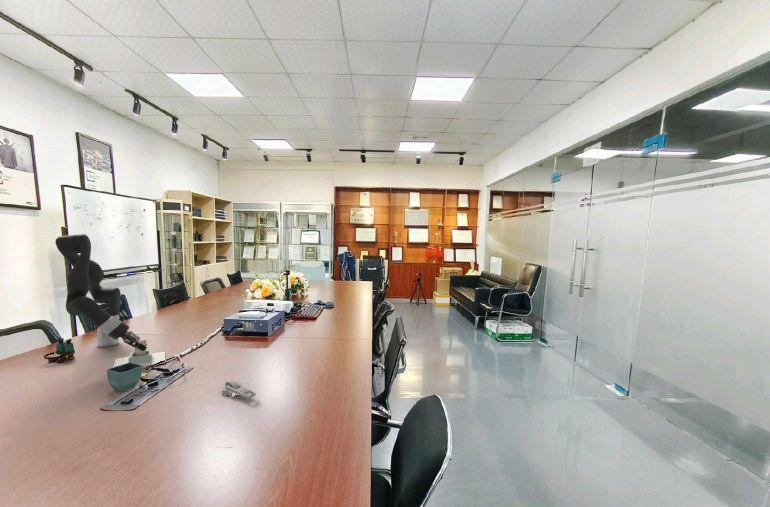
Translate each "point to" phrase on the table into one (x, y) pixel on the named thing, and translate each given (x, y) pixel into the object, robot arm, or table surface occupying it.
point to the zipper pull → (236, 389)
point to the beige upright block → (137, 350)
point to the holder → (142, 359)
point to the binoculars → (62, 351)
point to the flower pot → (124, 376)
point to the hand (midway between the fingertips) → (145, 347)
